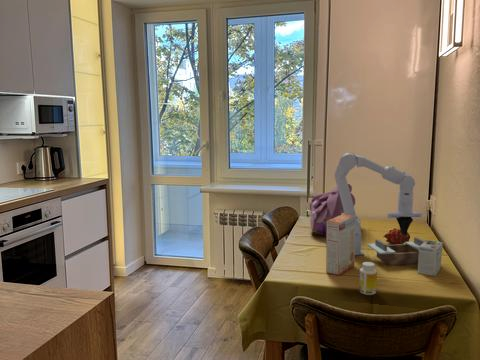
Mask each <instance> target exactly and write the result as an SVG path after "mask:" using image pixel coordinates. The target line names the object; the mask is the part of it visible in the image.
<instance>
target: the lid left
mask: <svg viewBox="0 0 480 360" xmlns="http://www.w3.org/2000/svg"><path fill="white" fill-rule="evenodd" d="M374 242H375V243H366V246H367V247H369V248H370V249H372V250H373V251H374V252H376V254H377V253H379V254H391V253H396V252H395V251H394V250H392V249H390V248H389V247H387V245H388V244H386V243H385V242H384V241H382V240H380V239H377V238H376V239H375V241H374Z"/></svg>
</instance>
